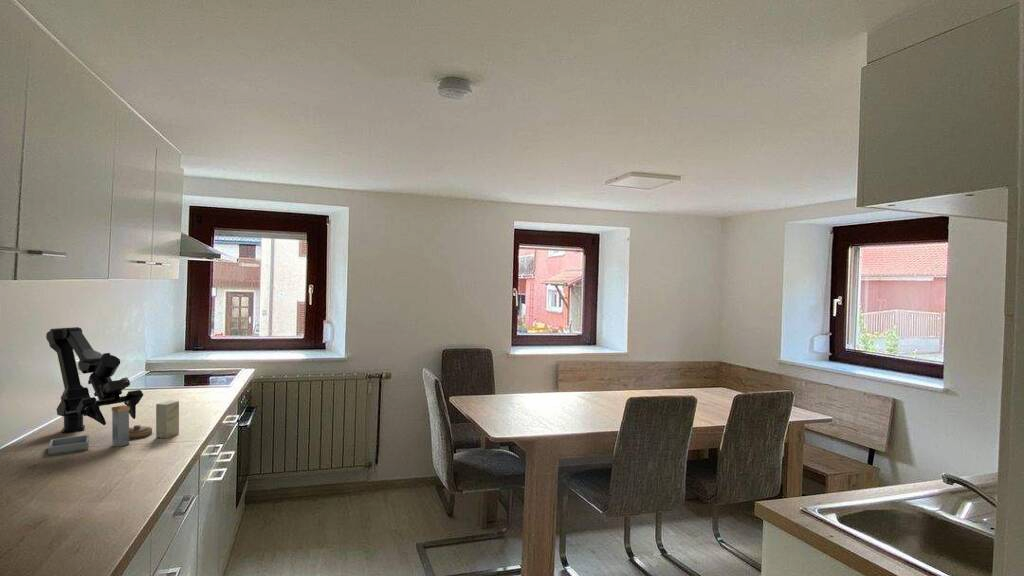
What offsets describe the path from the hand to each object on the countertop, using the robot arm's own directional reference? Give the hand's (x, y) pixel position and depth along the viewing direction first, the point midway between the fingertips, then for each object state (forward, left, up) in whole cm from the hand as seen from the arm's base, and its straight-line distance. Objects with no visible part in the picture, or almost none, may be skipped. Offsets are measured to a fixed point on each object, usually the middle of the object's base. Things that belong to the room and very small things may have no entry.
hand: (120, 421), depth 190 cm
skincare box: (-4, +14, -8) cm, 17 cm away
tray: (-4, -14, -8) cm, 17 cm away
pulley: (-10, +5, -8) cm, 14 cm away
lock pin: (0, 0, -8) cm, 8 cm away
